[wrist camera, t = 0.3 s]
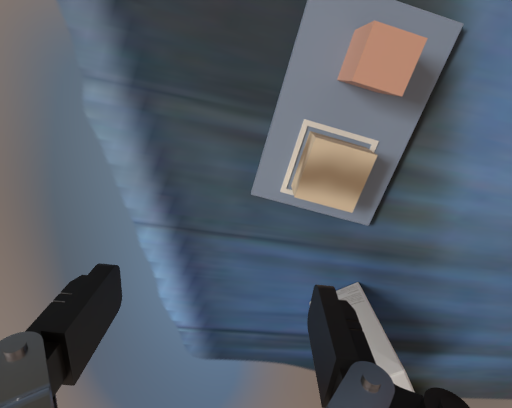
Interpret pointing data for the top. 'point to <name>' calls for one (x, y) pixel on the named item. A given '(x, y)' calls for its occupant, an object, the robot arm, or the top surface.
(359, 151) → the beech base block
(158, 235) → the top surface
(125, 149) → the top surface
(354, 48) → the terracotta block
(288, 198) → the board
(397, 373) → the skincare box
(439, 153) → the top surface
